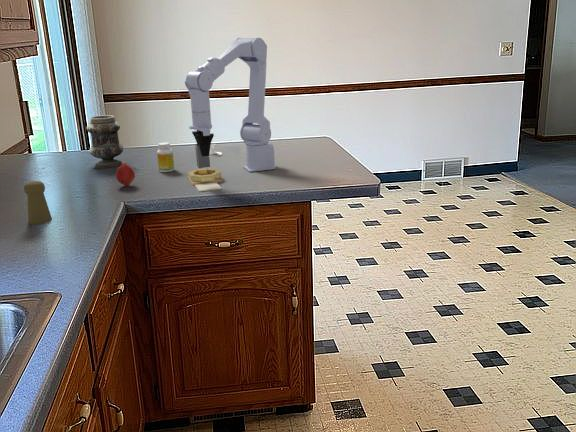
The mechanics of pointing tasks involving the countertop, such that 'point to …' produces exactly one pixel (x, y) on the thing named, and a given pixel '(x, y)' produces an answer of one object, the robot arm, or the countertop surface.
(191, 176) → the collar
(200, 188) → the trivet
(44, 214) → the yellow tapered knobbed piece
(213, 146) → the teacup and saucer
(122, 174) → the pomegranate
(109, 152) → the carved stone vase
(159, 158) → the supplement bottle
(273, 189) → the countertop surface
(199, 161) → the steel block
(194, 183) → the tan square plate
